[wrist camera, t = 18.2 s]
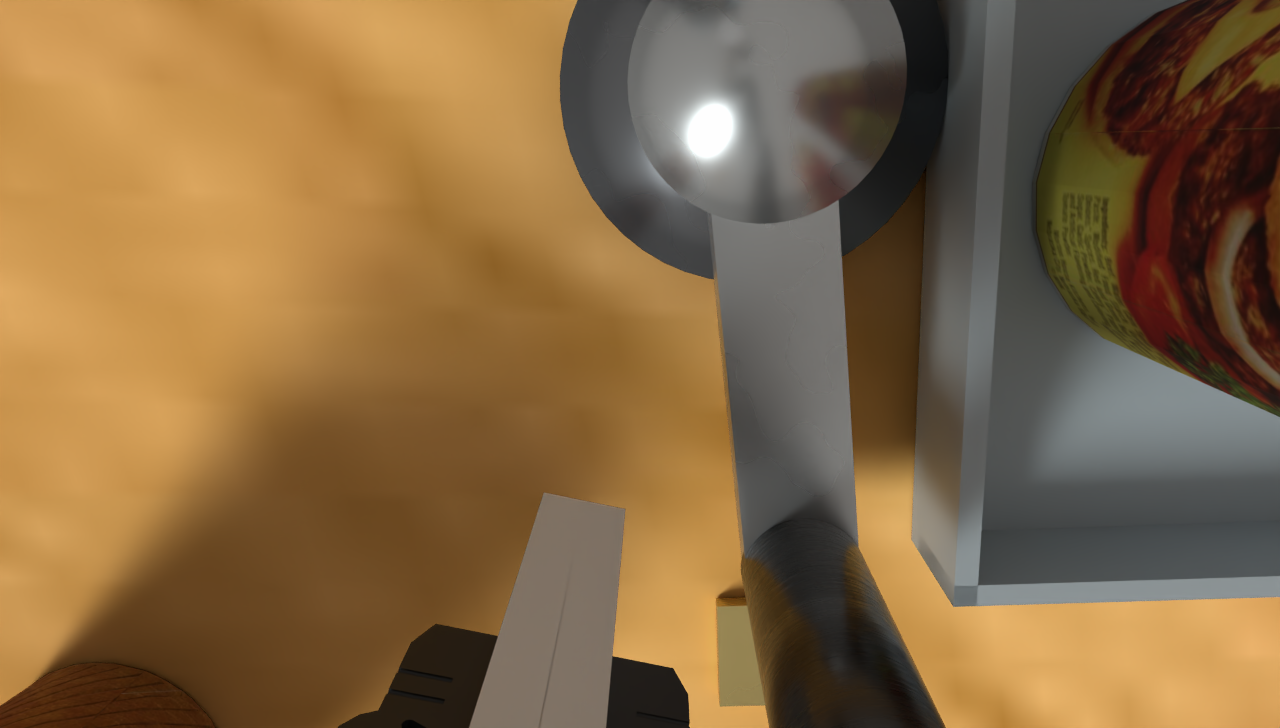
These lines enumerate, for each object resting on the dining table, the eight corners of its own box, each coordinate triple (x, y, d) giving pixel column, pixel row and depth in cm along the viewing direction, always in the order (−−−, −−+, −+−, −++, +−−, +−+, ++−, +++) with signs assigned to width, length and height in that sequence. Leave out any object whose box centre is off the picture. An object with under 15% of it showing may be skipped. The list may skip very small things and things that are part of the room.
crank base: (552, -96, 17) (545, -113, 16) (938, -120, 17) (958, -140, 16) (579, 281, 19) (574, 290, 18) (922, 266, 19) (939, 274, 18)
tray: (942, -232, 16) (1005, -315, 13) (1567, -275, 16) (1777, -371, 13) (911, 539, 21) (953, 606, 18) (1398, 523, 20) (1525, 589, 17)
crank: (616, -27, 16) (540, -308, 6) (872, -62, 16) (1244, -419, 6) (690, 594, 20) (720, 1073, 10) (899, 574, 19) (1159, 1045, 9)
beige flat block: (716, 598, 21) (716, 606, 21) (792, 595, 21) (795, 604, 21) (718, 696, 22) (719, 706, 22) (792, 694, 22) (795, 704, 22)
